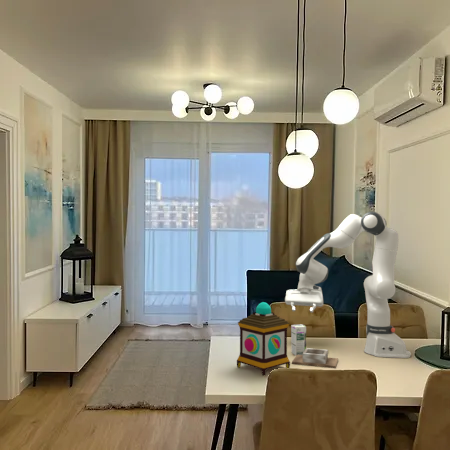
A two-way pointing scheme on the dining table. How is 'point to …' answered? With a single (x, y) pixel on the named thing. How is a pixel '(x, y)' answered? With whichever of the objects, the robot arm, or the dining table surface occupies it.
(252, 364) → the decorative lantern
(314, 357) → the collar base
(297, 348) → the syrup box
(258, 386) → the dining table surface
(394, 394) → the dining table surface
